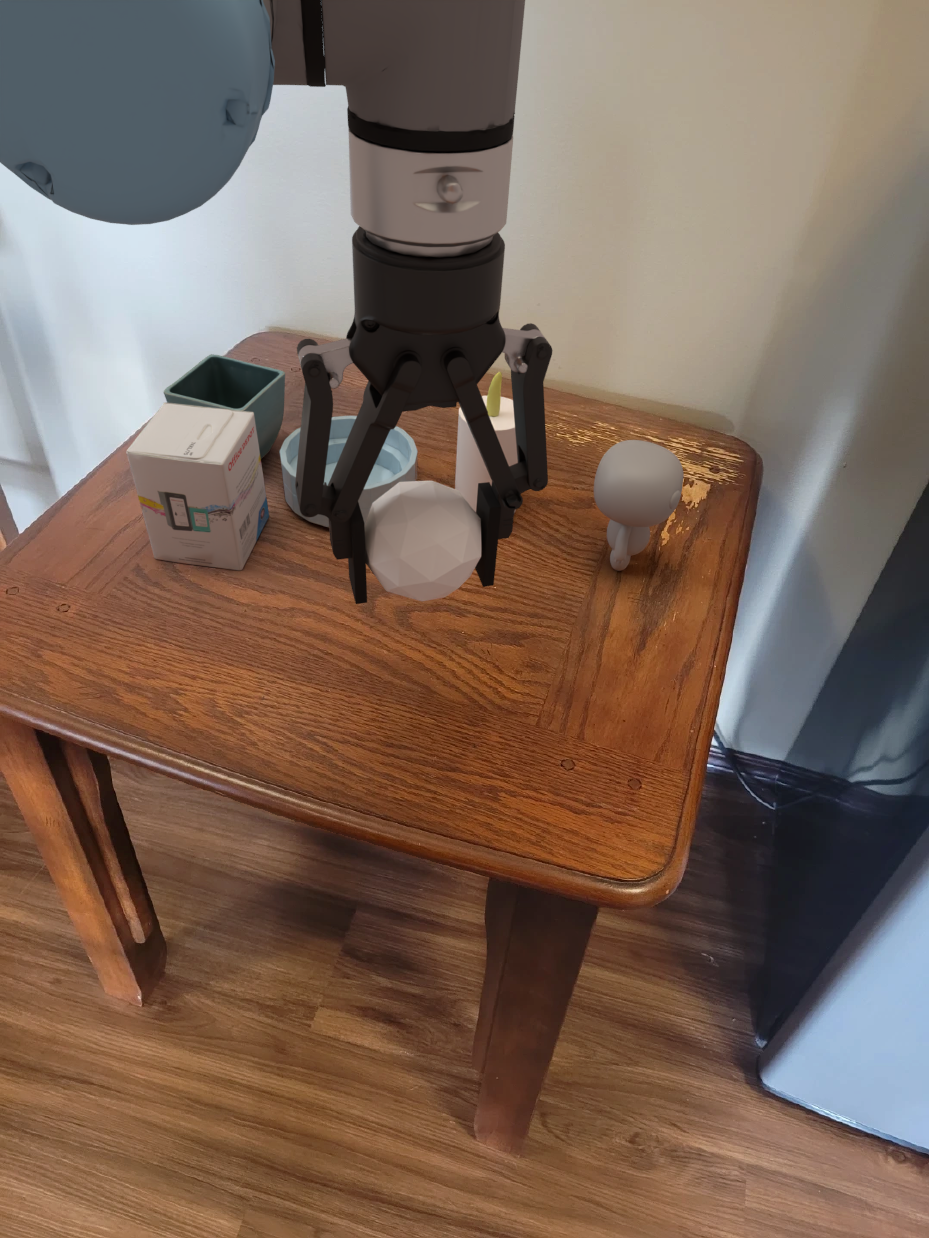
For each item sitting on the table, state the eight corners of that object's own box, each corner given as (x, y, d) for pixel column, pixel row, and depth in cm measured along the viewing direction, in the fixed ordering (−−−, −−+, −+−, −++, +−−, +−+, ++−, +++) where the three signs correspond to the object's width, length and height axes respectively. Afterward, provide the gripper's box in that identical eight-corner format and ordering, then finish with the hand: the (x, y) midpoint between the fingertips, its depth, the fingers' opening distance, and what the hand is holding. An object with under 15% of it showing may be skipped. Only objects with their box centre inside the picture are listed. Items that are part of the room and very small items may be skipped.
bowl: (257, 493, 85) (251, 450, 82) (352, 443, 93) (350, 402, 89) (349, 551, 79) (347, 507, 76) (443, 492, 87) (444, 450, 84)
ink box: (187, 505, 83) (163, 398, 75) (271, 516, 83) (257, 409, 75) (151, 560, 77) (122, 450, 69) (242, 572, 77) (223, 462, 68)
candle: (497, 480, 89) (510, 345, 79) (527, 515, 85) (544, 377, 74) (443, 493, 87) (448, 356, 76) (470, 530, 83) (480, 390, 72)
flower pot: (252, 490, 86) (241, 411, 79) (177, 470, 88) (160, 391, 81) (295, 447, 92) (287, 370, 86) (223, 429, 94) (211, 352, 87)
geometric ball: (392, 604, 60) (349, 497, 58) (500, 565, 59) (459, 455, 57) (381, 633, 52) (331, 511, 50) (504, 588, 51) (457, 463, 50)
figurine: (655, 597, 77) (685, 487, 69) (573, 579, 78) (593, 469, 70) (664, 544, 83) (693, 437, 74) (588, 528, 84) (608, 421, 75)
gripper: (213, 269, 36) (270, 642, 52) (655, 248, 41) (585, 597, 57) (206, 209, 42) (259, 565, 57) (599, 196, 46) (548, 529, 62)
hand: (421, 581), depth 57 cm, fingers closed on geometric ball, 8 cm apart
